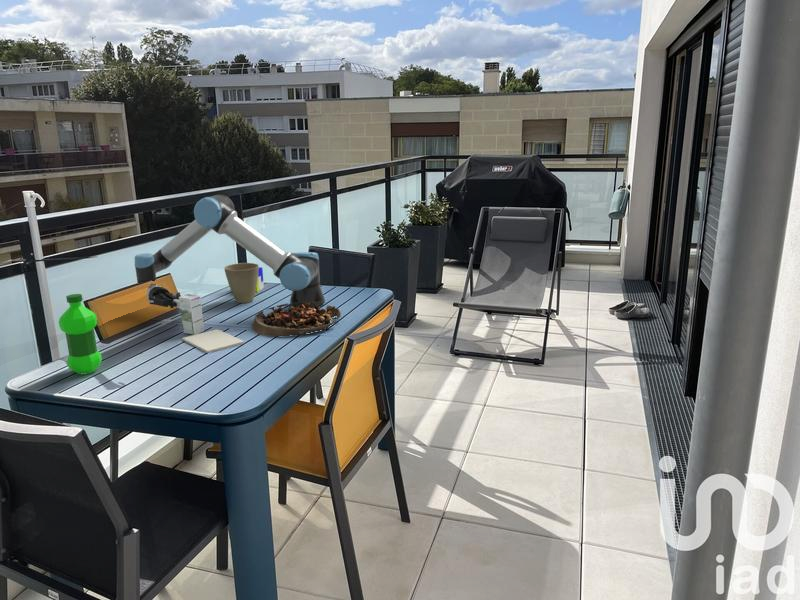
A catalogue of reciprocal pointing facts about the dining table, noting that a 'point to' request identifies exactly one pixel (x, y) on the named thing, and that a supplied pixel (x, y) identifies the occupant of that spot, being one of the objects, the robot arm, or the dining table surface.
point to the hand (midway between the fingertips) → (182, 305)
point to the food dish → (294, 320)
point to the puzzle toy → (260, 280)
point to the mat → (212, 341)
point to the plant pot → (242, 280)
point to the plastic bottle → (80, 336)
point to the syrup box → (191, 314)
